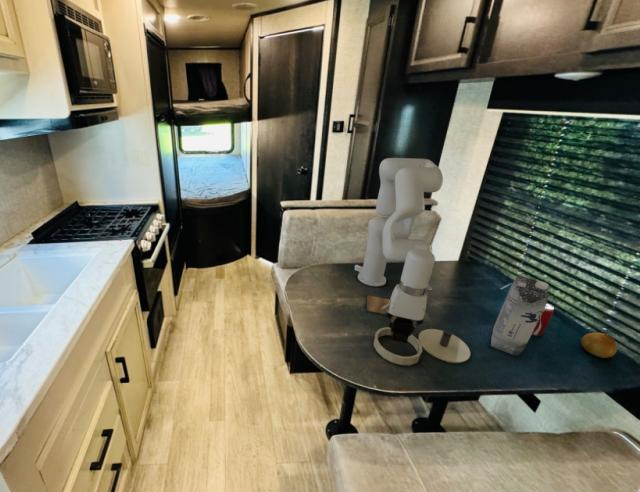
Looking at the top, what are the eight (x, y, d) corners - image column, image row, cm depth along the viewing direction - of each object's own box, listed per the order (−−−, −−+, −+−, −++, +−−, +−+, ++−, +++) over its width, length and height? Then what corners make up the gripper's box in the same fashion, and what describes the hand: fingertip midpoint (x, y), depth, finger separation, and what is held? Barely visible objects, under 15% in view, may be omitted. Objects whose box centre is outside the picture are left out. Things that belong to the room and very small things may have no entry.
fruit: (623, 362, 100) (625, 337, 100) (588, 355, 103) (589, 331, 104) (607, 357, 107) (609, 334, 108) (575, 351, 110) (576, 328, 111)
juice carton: (487, 347, 109) (515, 282, 98) (490, 331, 116) (517, 269, 105) (520, 360, 104) (553, 293, 92) (521, 343, 111) (553, 279, 99)
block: (391, 339, 106) (396, 321, 102) (390, 330, 110) (395, 312, 106) (406, 343, 104) (412, 324, 101) (405, 334, 108) (410, 316, 105)
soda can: (542, 338, 113) (556, 312, 108) (523, 332, 116) (536, 306, 110) (541, 330, 116) (554, 304, 111) (523, 325, 119) (535, 299, 114)
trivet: (366, 311, 127) (367, 310, 127) (367, 296, 137) (367, 295, 136) (396, 317, 124) (396, 316, 124) (394, 301, 133) (394, 300, 133)
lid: (411, 346, 110) (415, 332, 107) (426, 325, 120) (430, 311, 117) (462, 372, 100) (468, 357, 97) (474, 346, 109) (480, 332, 107)
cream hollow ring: (366, 349, 109) (367, 341, 107) (383, 328, 118) (385, 321, 116) (410, 373, 99) (412, 365, 98) (425, 349, 108) (428, 342, 107)
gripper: (441, 285, 98) (426, 329, 106) (383, 275, 104) (373, 318, 112) (445, 299, 92) (430, 345, 100) (383, 288, 97) (373, 332, 105)
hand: (400, 330), depth 106 cm, fingers closed on block, 4 cm apart
